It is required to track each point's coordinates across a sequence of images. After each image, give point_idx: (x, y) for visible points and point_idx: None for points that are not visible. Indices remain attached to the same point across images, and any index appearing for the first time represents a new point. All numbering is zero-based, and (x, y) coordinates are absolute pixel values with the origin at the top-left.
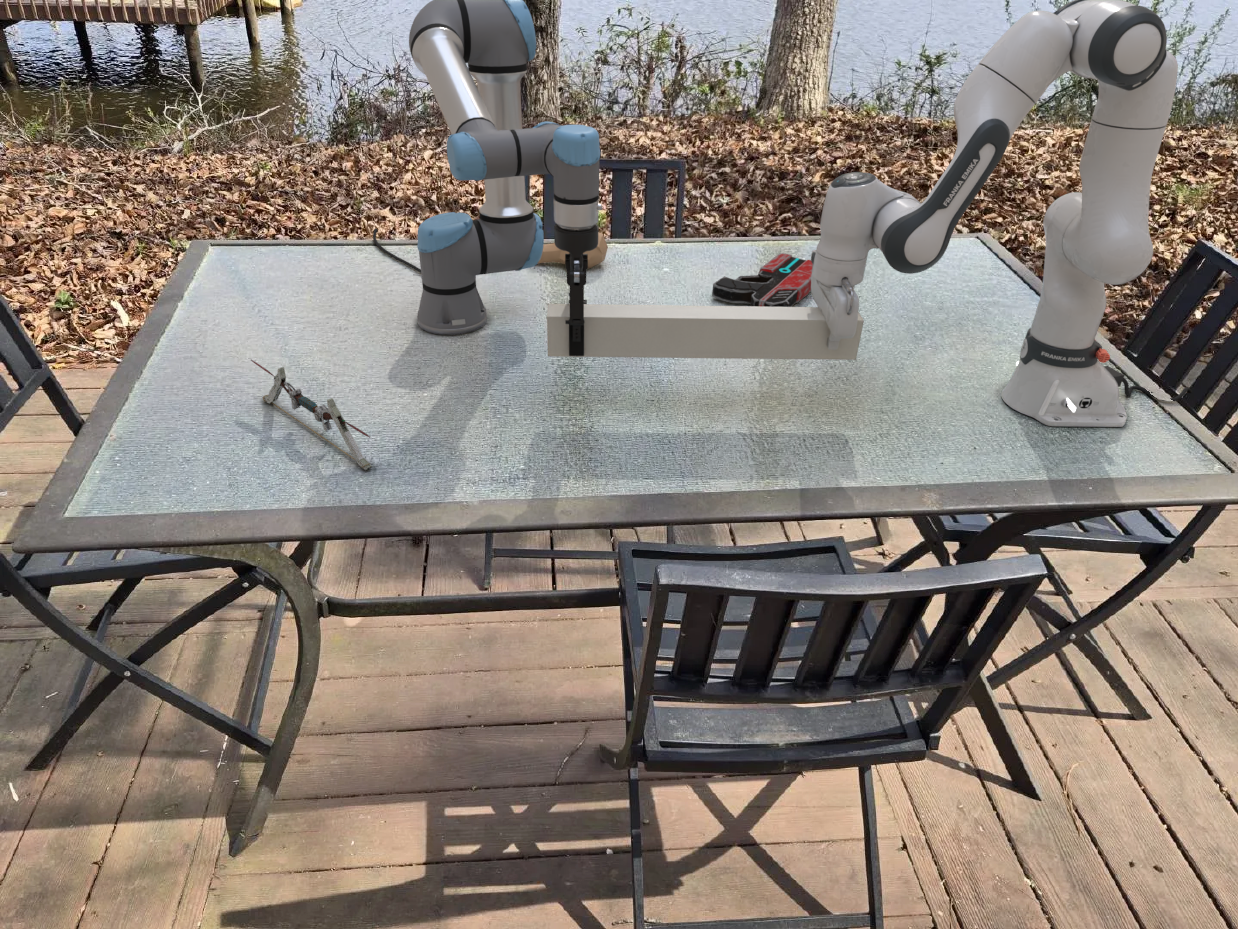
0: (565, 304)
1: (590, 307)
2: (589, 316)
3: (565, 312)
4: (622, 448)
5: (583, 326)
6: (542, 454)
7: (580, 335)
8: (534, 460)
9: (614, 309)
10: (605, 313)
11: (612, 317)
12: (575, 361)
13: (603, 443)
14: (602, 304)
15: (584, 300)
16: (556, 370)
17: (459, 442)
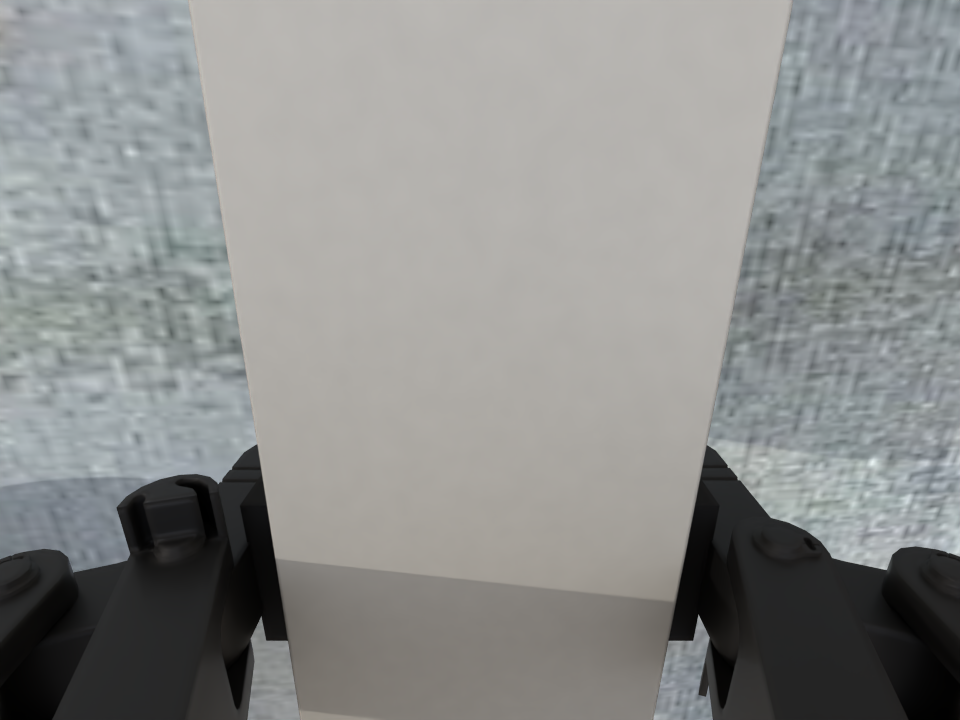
0: (321, 715)
1: (375, 464)
2: (679, 481)
3: (539, 712)
4: (852, 114)
5: (702, 485)
6: (819, 407)
7: (732, 472)
8: (848, 430)
9: (433, 77)
10: (598, 254)
11: (762, 133)
12: (125, 297)
13: (797, 194)
14: (241, 292)
15: (138, 528)
16: (221, 371)
17: (700, 618)
